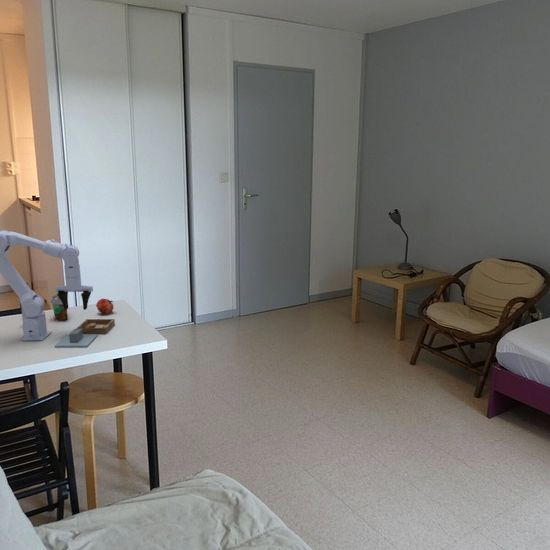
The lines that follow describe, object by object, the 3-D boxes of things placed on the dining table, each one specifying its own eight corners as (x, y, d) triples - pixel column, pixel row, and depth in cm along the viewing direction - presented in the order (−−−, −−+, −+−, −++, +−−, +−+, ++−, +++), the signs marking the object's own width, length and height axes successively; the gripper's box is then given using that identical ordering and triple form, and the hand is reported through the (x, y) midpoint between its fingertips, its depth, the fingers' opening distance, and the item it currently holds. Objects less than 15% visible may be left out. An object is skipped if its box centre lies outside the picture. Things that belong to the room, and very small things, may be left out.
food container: (51, 315, 239) (49, 294, 237) (66, 313, 242) (64, 292, 240) (52, 323, 228) (50, 301, 226) (68, 321, 231) (66, 299, 229)
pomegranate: (95, 320, 240) (109, 309, 236) (88, 306, 241) (101, 295, 237) (107, 317, 246) (120, 306, 242) (99, 304, 247) (113, 293, 243)
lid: (87, 348, 201) (86, 336, 200) (54, 348, 201) (53, 336, 200) (97, 337, 213) (96, 326, 212) (66, 337, 213) (65, 326, 212)
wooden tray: (106, 334, 215) (105, 328, 214) (76, 334, 215) (76, 328, 214) (114, 324, 227) (114, 319, 226) (86, 324, 227) (86, 319, 226)
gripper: (94, 273, 214) (97, 306, 217) (58, 273, 215) (62, 306, 218) (88, 278, 207) (91, 311, 211) (51, 278, 208) (54, 311, 211)
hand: (75, 308), depth 214 cm, fingers open, 7 cm apart
